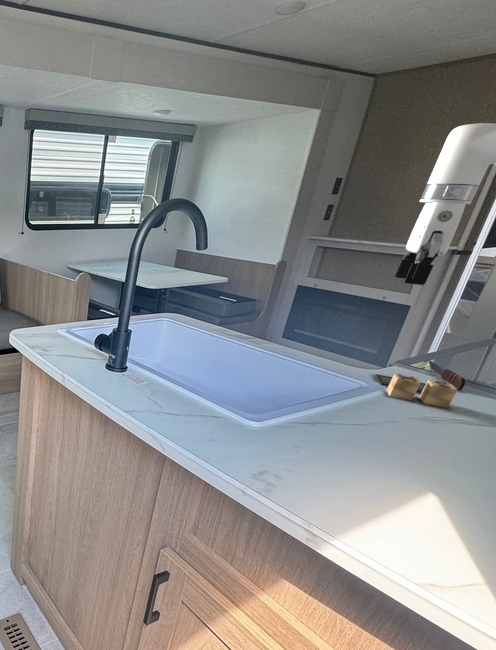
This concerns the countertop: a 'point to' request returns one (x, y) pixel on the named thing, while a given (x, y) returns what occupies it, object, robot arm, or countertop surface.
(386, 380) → the word mat
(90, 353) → the countertop surface
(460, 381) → the knife
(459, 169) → the robot arm
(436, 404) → the tile
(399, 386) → the wooden block
